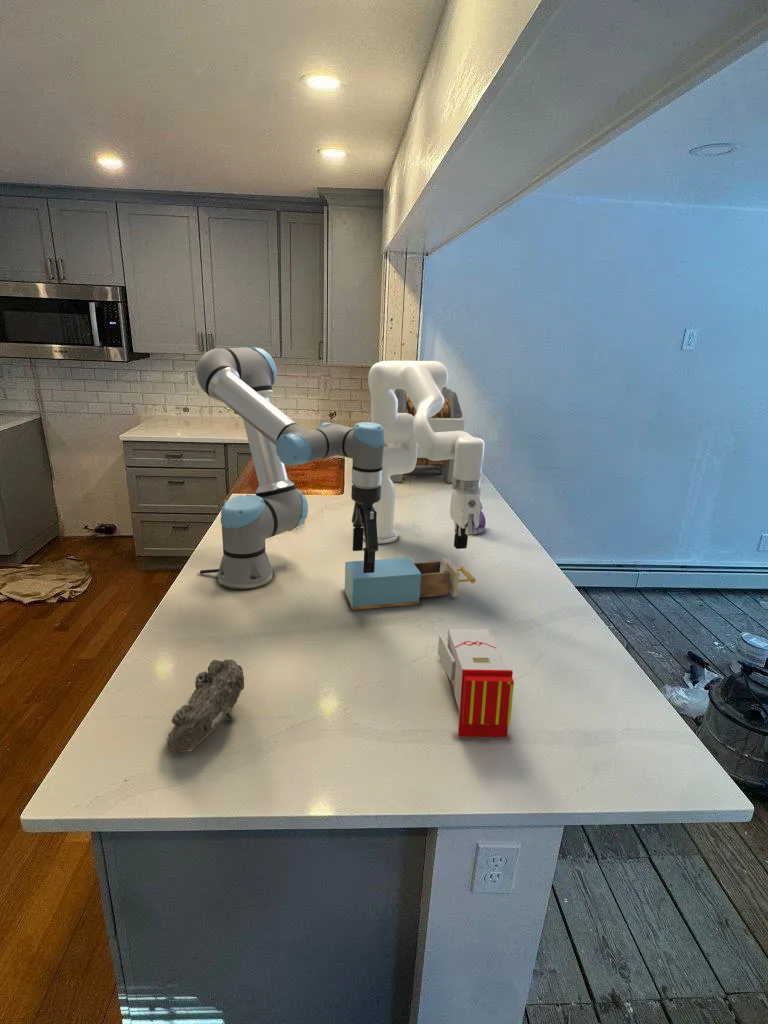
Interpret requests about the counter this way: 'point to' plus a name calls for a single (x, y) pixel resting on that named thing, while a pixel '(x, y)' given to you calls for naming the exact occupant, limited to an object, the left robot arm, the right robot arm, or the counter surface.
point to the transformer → (433, 428)
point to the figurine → (480, 521)
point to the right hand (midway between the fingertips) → (460, 547)
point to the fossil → (206, 705)
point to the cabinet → (382, 584)
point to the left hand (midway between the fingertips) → (362, 560)
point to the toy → (478, 682)
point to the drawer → (441, 578)
